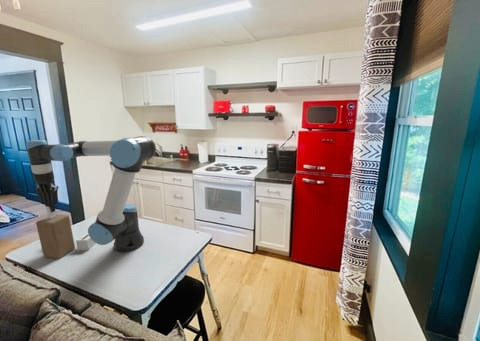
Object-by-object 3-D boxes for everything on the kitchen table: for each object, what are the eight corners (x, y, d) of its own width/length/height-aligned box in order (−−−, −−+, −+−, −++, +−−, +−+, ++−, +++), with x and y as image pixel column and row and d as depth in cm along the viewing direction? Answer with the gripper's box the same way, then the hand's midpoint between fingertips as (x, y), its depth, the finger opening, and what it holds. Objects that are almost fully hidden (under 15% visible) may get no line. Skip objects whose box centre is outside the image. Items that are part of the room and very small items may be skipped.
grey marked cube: (95, 244, 130) (94, 234, 128) (89, 250, 124) (87, 239, 123) (85, 244, 130) (83, 234, 128) (77, 250, 124) (75, 240, 123)
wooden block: (58, 259, 116) (51, 223, 111) (42, 257, 118) (34, 221, 113) (76, 248, 125) (69, 214, 121) (61, 246, 127) (54, 213, 123)
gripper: (60, 171, 113) (69, 215, 119) (41, 169, 117) (50, 213, 122) (44, 174, 106) (54, 221, 112) (24, 173, 110) (34, 219, 115)
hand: (52, 217), depth 117 cm, fingers closed
